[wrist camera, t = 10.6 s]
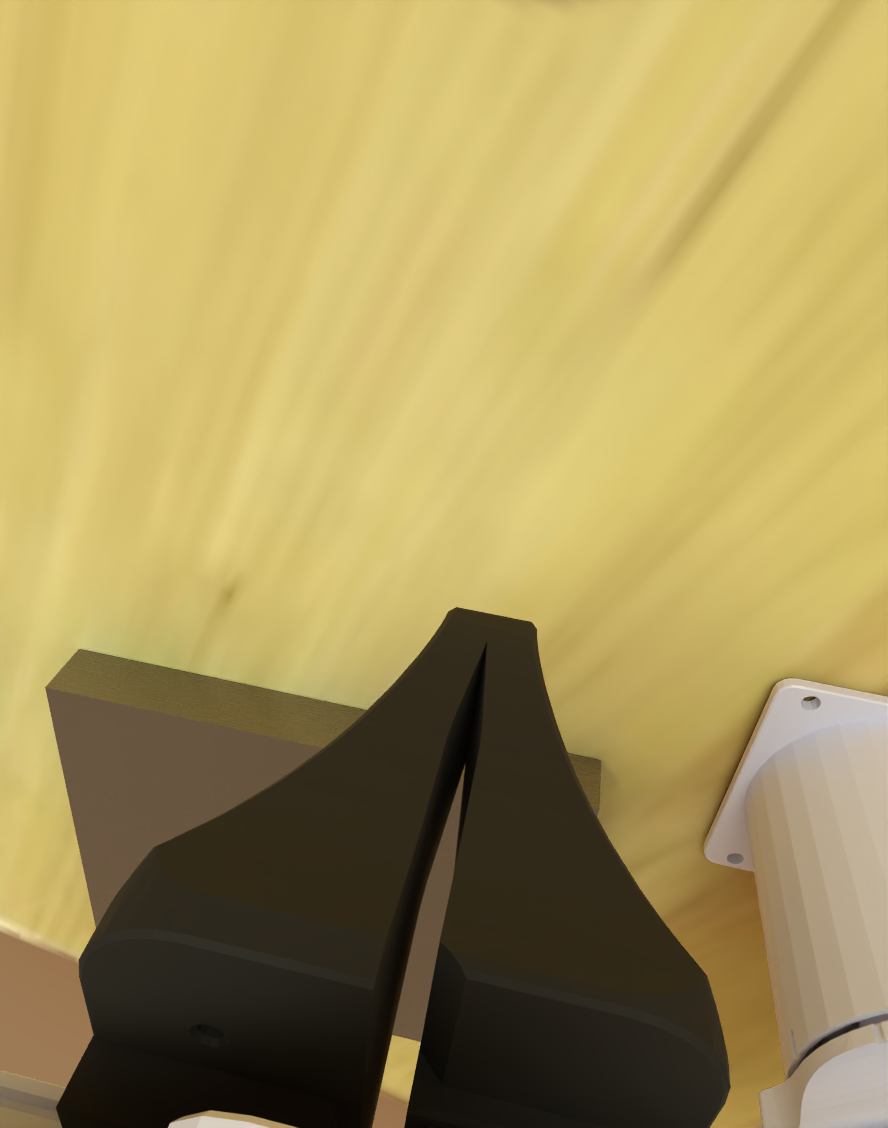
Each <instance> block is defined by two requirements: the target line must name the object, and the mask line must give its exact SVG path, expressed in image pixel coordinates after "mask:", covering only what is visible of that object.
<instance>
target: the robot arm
mask: <svg viewBox="0 0 888 1128" xmlns="http://www.w3.org/2000/svg"><path fill="white" fill-rule="evenodd" d="M808 696H815V697H816V698H815V699H814V700H811V701H804V700H803V699H804V698H806V697H808ZM464 766H465V771H464V781H463V790H462V800H461V809H460V819H459V828H458V838H457V847H456V857H455V866H454V875H453V880H452V885H451V889H450V894H449V899H448V904H447V908H446V913H445V918H444V923H443V927H442V932H441V937H440V942H439V947H438V953H437V958H436V963H435V969H434V974H433V980H432V985H431V990H430V996H429V1001H428V1007H427V1012H426V1017H425V1023H424V1028H423V1034H422V1039H421V1045H420V1050H419V1055H418V1060H417V1065H416V1070H415V1075H414V1080H413V1085H412V1090H411V1095H410V1100H409V1105H408V1110H407V1115H406V1122H405V1127H404V1128H710V1126H711V1125H712V1123H713V1121H714V1120H715V1118H716V1117H717V1115H718V1114H719V1112H720V1111H721V1109H722V1107H723V1106H724V1104H725V1102H726V1099H727V1096H728V1093H729V1090H730V1079H729V1064H728V1056H727V1051H726V1046H725V1041H724V1037H723V1032H722V1027H721V1023H720V1019H719V1015H718V1011H717V1007H716V1004H715V1001H714V997H713V994H712V991H711V987H710V984H709V981H708V978H707V975H706V974H705V973H704V972H703V970H702V969H701V968H700V967H699V965H698V964H697V963H696V962H695V961H694V959H693V958H692V957H691V956H690V955H689V953H688V952H687V951H686V950H685V948H684V947H683V946H682V945H681V944H680V942H679V941H678V940H677V939H676V937H675V936H674V935H673V934H672V932H671V931H670V930H669V928H668V927H667V926H666V925H665V923H664V922H663V921H662V919H661V918H660V916H659V915H658V914H657V912H656V911H655V909H654V908H653V907H652V905H651V904H650V902H649V901H648V900H647V898H646V897H645V895H644V894H643V893H642V891H641V890H640V888H639V887H638V885H637V883H636V882H635V880H634V879H633V877H632V875H631V874H630V872H629V871H628V869H627V867H626V866H625V864H624V863H623V861H622V860H621V858H620V856H619V855H618V853H617V852H616V850H615V848H614V847H613V845H612V844H611V842H610V840H609V839H608V837H607V835H606V833H605V831H604V829H603V828H602V826H601V824H600V822H599V820H598V818H597V816H596V815H595V813H594V811H593V809H592V807H591V805H590V803H589V801H588V799H587V797H586V795H585V793H584V791H583V788H582V786H581V784H580V782H579V780H578V777H577V775H576V773H575V771H574V768H573V766H572V763H571V761H570V758H569V756H568V753H567V751H566V748H565V745H564V743H563V740H562V738H561V735H560V732H559V729H558V726H557V723H556V720H555V717H554V713H553V710H552V707H551V704H550V700H549V697H548V694H547V690H546V686H545V682H544V678H543V673H542V668H541V664H540V658H539V652H538V643H537V629H536V627H535V626H534V625H533V623H532V622H529V621H523V620H518V619H513V618H508V617H503V616H498V615H493V614H488V613H483V612H478V611H473V610H468V609H463V608H458V607H456V608H454V609H452V610H450V611H449V612H448V613H447V615H446V617H445V619H444V621H443V622H442V624H441V625H440V627H439V628H438V630H437V631H436V633H435V634H434V636H433V637H432V638H431V640H430V641H429V642H428V644H427V645H426V646H425V648H424V649H423V650H422V651H421V653H420V654H419V655H418V656H417V658H416V659H415V660H414V661H413V662H412V663H411V665H410V666H409V667H408V668H407V669H406V670H405V671H404V673H403V674H402V675H401V676H400V677H399V678H398V680H397V681H396V682H395V683H394V684H393V685H392V686H391V687H390V688H389V689H388V690H387V691H386V692H385V693H384V694H383V695H382V696H381V697H380V698H379V699H378V700H377V701H376V702H375V703H374V704H373V705H372V706H371V707H370V708H369V709H368V710H367V711H366V712H365V713H364V714H363V715H362V716H361V717H360V718H358V719H357V720H356V721H355V722H354V723H353V724H352V725H351V726H350V727H348V728H347V729H346V730H345V731H344V732H343V733H341V734H340V735H339V736H338V737H337V738H335V739H334V740H333V741H332V742H330V743H329V744H328V745H327V746H325V747H324V748H323V749H322V750H320V751H319V752H318V753H316V754H315V755H314V756H312V757H311V758H309V759H308V760H307V761H305V762H304V763H303V764H301V765H300V766H299V767H297V768H296V769H294V770H293V771H292V772H290V773H289V774H287V775H286V776H284V777H283V778H281V779H280V780H278V781H277V782H275V783H274V784H272V785H270V786H269V787H267V788H265V789H264V790H262V791H260V792H259V793H257V794H255V795H254V796H252V797H250V798H249V799H247V800H245V801H243V802H242V803H240V804H238V805H237V806H235V807H233V808H232V809H230V810H228V811H227V812H225V813H223V814H221V815H219V816H217V817H215V818H213V819H211V820H209V821H207V822H205V823H203V824H201V825H199V826H197V827H195V828H193V829H191V830H189V831H187V832H185V833H183V834H180V835H178V836H176V837H174V838H172V839H170V840H168V841H166V842H164V843H162V844H159V845H157V846H155V847H154V848H153V849H152V850H151V851H150V852H149V853H148V854H147V856H146V857H145V858H144V859H143V861H142V862H141V863H140V864H139V866H138V867H137V868H136V869H135V870H134V872H133V873H132V874H131V876H130V877H129V879H128V880H127V881H126V883H125V884H124V885H123V886H122V888H121V889H120V890H119V892H118V893H117V894H116V896H115V897H114V899H113V900H112V902H111V903H110V905H109V907H108V908H107V910H106V912H105V914H104V916H103V917H102V919H101V921H100V923H99V924H98V926H97V928H96V930H95V932H94V933H93V935H92V937H91V939H90V940H89V942H88V944H87V946H86V948H85V949H84V951H83V953H82V955H81V957H80V959H79V978H80V982H81V986H82V990H83V994H84V998H85V1002H86V1005H87V1010H88V1014H89V1018H90V1022H91V1026H92V1030H93V1034H94V1036H93V1037H92V1040H91V1041H90V1043H89V1045H88V1047H87V1049H86V1051H85V1053H84V1055H83V1056H82V1058H81V1060H80V1062H79V1064H78V1066H77V1068H76V1070H75V1072H74V1074H73V1075H72V1077H71V1079H70V1081H69V1083H68V1085H67V1087H64V1086H59V1085H56V1084H52V1083H48V1082H45V1081H41V1080H37V1079H33V1078H29V1077H26V1076H22V1075H18V1074H14V1073H10V1072H7V1071H2V1070H0V1128H372V1124H373V1120H374V1115H375V1111H376V1106H377V1101H378V1097H379V1092H380V1087H381V1083H382V1078H383V1074H384V1069H385V1064H386V1060H387V1055H388V1051H389V1046H390V1041H391V1037H392V1032H393V1028H394V1023H395V1019H396V1014H397V1009H398V1005H399V1000H400V996H401V991H402V987H403V982H404V978H405V973H406V969H407V964H408V960H409V955H410V951H411V946H412V942H413V937H414V933H415V928H416V924H417V919H418V915H419V910H420V906H421V902H422V899H423V895H424V892H425V888H426V884H427V881H428V878H429V875H430V871H431V868H432V865H433V862H434V859H435V856H436V853H437V850H438V847H439V844H440V841H441V838H442V834H443V831H444V828H445V825H446V822H447V819H448V816H449V813H450V810H451V807H452V804H453V800H454V797H455V794H456V791H457V788H458V785H459V782H460V779H461V776H462V772H463V769H464ZM703 849H704V855H705V857H706V859H707V860H709V861H710V862H713V863H715V864H719V865H724V866H728V867H733V868H737V869H742V870H746V871H751V872H754V875H755V882H756V888H757V895H758V902H759V908H760V915H761V921H762V928H763V935H764V941H765V948H766V955H767V961H768V968H769V974H770V981H771V988H772V994H773V1001H774V1008H775V1014H776V1021H777V1027H778V1034H779V1041H780V1047H781V1054H782V1061H783V1067H784V1074H785V1080H786V1081H784V1082H783V1083H781V1084H778V1085H776V1086H774V1087H771V1088H768V1089H764V1090H761V1091H760V1092H759V1101H760V1109H761V1117H762V1125H763V1128H888V697H887V696H882V695H877V694H872V693H867V692H862V691H857V690H852V689H847V688H842V687H837V686H832V685H827V684H822V683H817V682H812V681H807V680H802V679H797V678H788V679H784V680H781V681H780V682H778V683H776V685H775V686H774V687H773V689H772V692H771V694H770V696H769V698H768V700H767V703H766V705H765V707H764V709H763V712H762V714H761V716H760V718H759V721H758V723H757V725H756V727H755V730H754V732H753V734H752V736H751V739H750V741H749V743H748V745H747V748H746V750H745V752H744V754H743V757H742V759H741V761H740V763H739V766H738V768H737V770H736V772H735V774H734V777H733V779H732V781H731V783H730V786H729V788H728V790H727V792H726V795H725V797H724V799H723V801H722V804H721V806H720V808H719V810H718V813H717V815H716V817H715V819H714V822H713V824H712V826H711V828H710V831H709V833H708V835H707V837H706V840H705V842H704V846H703ZM732 853H737V854H732Z"/></svg>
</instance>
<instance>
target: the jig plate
mask: <svg viewBox="0 0 888 1128" xmlns="http://www.w3.org/2000/svg"><path fill="white" fill-rule="evenodd" d="M45 688H46V693H47V698H48V702H49V707H50V712H51V717H52V721H53V726H54V731H55V736H56V740H57V745H58V750H59V754H60V759H61V764H62V769H63V773H64V778H65V783H66V788H67V792H68V797H69V802H70V807H71V811H72V816H73V821H74V826H75V830H76V835H77V840H78V844H79V849H80V854H81V859H82V863H83V868H84V873H85V878H86V882H87V887H88V892H89V897H90V901H91V906H92V911H93V915H94V920H95V925H96V928H97V926H98V924H99V923H100V921H101V919H102V917H103V916H104V914H105V912H106V910H107V908H108V907H109V905H110V903H111V902H112V900H113V899H114V897H115V896H116V894H117V893H118V892H119V890H120V889H121V888H122V886H123V885H124V884H125V883H126V881H127V880H128V879H129V877H130V876H131V874H132V873H133V872H134V870H135V869H136V868H137V867H138V866H139V864H140V863H141V862H142V861H143V859H144V858H145V857H146V856H147V854H148V853H149V852H150V851H151V850H152V849H153V848H154V847H155V846H157V845H159V844H162V843H164V842H166V841H168V840H170V839H172V838H174V837H176V836H178V835H180V834H183V833H185V832H187V831H189V830H191V829H193V828H195V827H197V826H199V825H201V824H203V823H205V822H207V821H209V820H211V819H213V818H215V817H217V816H219V815H221V814H223V813H225V812H227V811H228V810H230V809H232V808H233V807H235V806H237V805H238V804H240V803H242V802H243V801H245V800H247V799H249V798H250V797H252V796H254V795H255V794H257V793H259V792H260V791H262V790H264V789H265V788H267V787H269V786H270V785H272V784H274V783H275V782H277V781H278V780H280V779H281V778H283V777H284V776H286V775H287V774H289V773H290V772H292V771H293V770H294V769H296V768H297V767H299V766H300V765H301V764H303V763H304V762H305V761H307V760H308V759H309V758H311V757H312V756H314V755H315V754H316V753H318V752H319V751H320V750H322V749H323V748H324V747H325V746H327V745H328V744H329V743H330V742H332V741H333V740H334V739H335V738H337V737H338V736H339V735H340V734H341V733H343V732H344V731H345V730H346V729H347V728H348V727H350V726H351V725H352V724H353V723H354V722H355V721H356V720H357V719H358V718H360V717H361V716H362V715H363V714H364V713H365V712H366V710H362V709H357V708H352V707H348V706H343V705H338V704H334V703H329V702H324V701H320V700H315V699H310V698H306V697H301V696H296V695H292V694H287V693H282V692H277V691H273V690H268V689H263V688H259V687H254V686H249V685H245V684H240V683H235V682H231V681H226V680H221V679H217V678H212V677H207V676H202V675H198V674H193V673H188V672H184V671H179V670H174V669H170V668H165V667H160V666H156V665H151V664H146V663H142V662H137V661H132V660H128V659H123V658H118V657H113V656H109V655H104V654H99V653H95V652H90V651H85V650H81V649H79V650H78V651H77V652H76V653H75V654H74V655H73V656H72V658H71V659H70V660H69V661H68V662H67V663H66V664H65V666H64V667H63V668H62V669H61V670H60V671H59V672H58V674H57V675H56V676H55V677H54V678H53V679H52V680H51V682H50V683H49V684H48V685H47V686H46V687H45ZM568 756H569V758H570V761H571V763H572V766H573V768H574V771H575V773H576V775H577V777H578V780H579V782H580V784H581V786H582V788H583V791H584V793H585V795H586V797H587V799H588V801H589V803H590V805H591V807H592V809H593V811H594V813H595V815H596V816H597V814H598V811H599V801H600V772H601V760H596V759H591V758H587V757H582V756H577V755H573V754H568ZM464 771H465V766H464V769H463V772H462V776H461V779H460V782H459V785H458V788H457V791H456V794H455V797H454V800H453V804H452V807H451V810H450V813H449V816H448V819H447V822H446V825H445V828H444V831H443V834H442V838H441V841H440V844H439V847H438V850H437V853H436V856H435V859H434V862H433V865H432V868H431V871H430V875H429V878H428V881H427V884H426V888H425V892H424V895H423V899H422V902H421V906H420V910H419V915H418V919H417V924H416V928H415V933H414V937H413V942H412V946H411V951H410V955H409V960H408V964H407V969H406V973H405V978H404V982H403V987H402V991H401V996H400V1000H399V1005H398V1009H397V1014H396V1019H395V1023H394V1028H393V1032H392V1035H395V1036H399V1037H404V1038H408V1039H412V1040H416V1041H420V1042H421V1039H422V1034H423V1028H424V1023H425V1017H426V1012H427V1007H428V1001H429V996H430V990H431V985H432V980H433V974H434V969H435V963H436V958H437V953H438V947H439V942H440V937H441V932H442V927H443V923H444V918H445V913H446V908H447V904H448V899H449V894H450V889H451V885H452V880H453V875H454V866H455V857H456V847H457V838H458V828H459V819H460V809H461V800H462V790H463V781H464Z"/></svg>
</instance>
